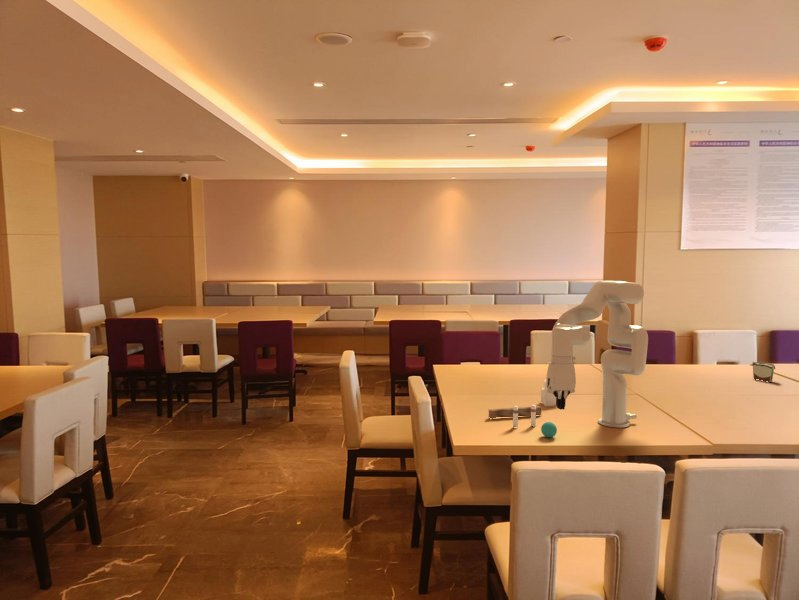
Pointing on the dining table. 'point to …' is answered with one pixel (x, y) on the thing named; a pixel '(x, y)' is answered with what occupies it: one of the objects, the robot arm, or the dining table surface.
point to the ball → (549, 429)
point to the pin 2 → (533, 415)
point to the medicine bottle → (547, 396)
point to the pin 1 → (515, 416)
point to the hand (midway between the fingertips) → (560, 408)
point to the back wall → (509, 412)
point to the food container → (763, 371)
